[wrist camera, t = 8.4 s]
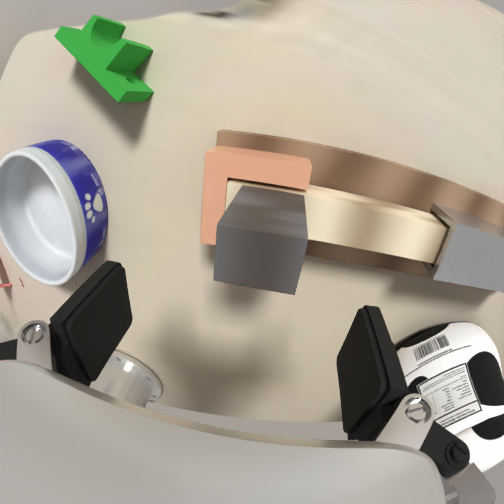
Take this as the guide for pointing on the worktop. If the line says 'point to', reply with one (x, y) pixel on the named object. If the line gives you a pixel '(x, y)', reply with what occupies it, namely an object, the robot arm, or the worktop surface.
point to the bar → (311, 231)
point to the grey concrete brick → (469, 252)
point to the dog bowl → (51, 210)
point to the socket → (244, 178)
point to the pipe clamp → (108, 57)
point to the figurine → (7, 284)
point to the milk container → (460, 385)
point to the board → (371, 191)
